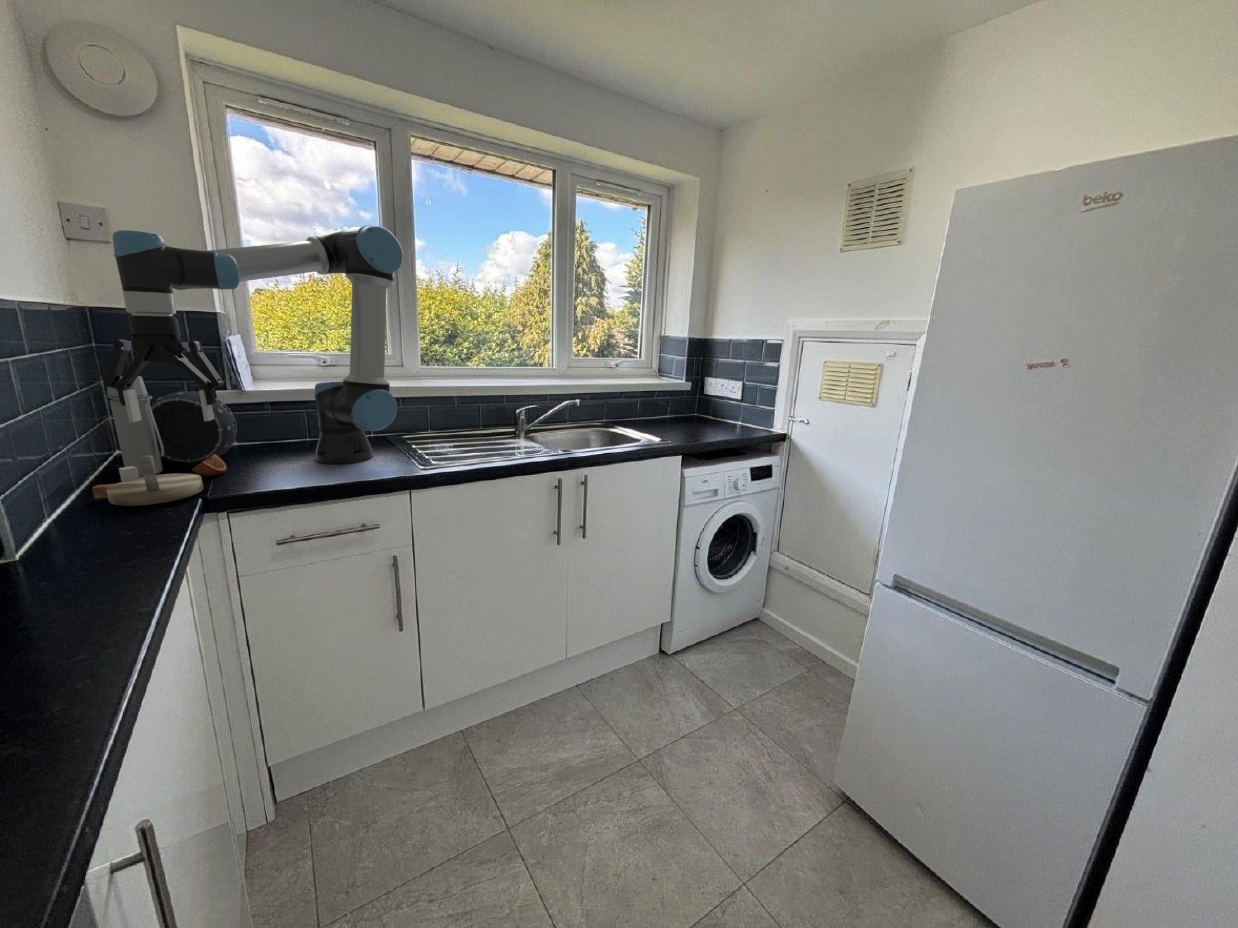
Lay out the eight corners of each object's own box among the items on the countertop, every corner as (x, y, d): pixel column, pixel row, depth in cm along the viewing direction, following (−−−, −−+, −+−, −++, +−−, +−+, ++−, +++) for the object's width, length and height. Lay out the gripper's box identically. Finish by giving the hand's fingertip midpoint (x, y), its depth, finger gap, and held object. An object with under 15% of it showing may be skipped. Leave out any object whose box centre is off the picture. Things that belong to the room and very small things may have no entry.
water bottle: (116, 478, 129) (93, 378, 122) (142, 470, 136) (121, 375, 130) (156, 478, 130) (135, 379, 123) (179, 470, 137) (160, 376, 131)
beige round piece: (99, 492, 116) (88, 449, 113) (204, 479, 127) (197, 440, 124) (84, 513, 103) (72, 465, 101) (202, 497, 114) (194, 454, 112)
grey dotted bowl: (231, 465, 144) (219, 393, 139) (144, 468, 138) (128, 394, 133) (246, 456, 154) (235, 389, 148) (165, 459, 148) (151, 389, 143)
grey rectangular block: (141, 487, 123) (137, 467, 121) (127, 490, 120) (123, 469, 119) (136, 485, 124) (132, 466, 122) (123, 488, 122) (118, 468, 120)
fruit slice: (219, 479, 131) (216, 460, 129) (187, 481, 129) (184, 462, 127) (231, 471, 138) (228, 453, 137) (202, 472, 136) (198, 454, 135)
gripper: (231, 317, 110) (247, 416, 115) (89, 313, 103) (113, 418, 109) (216, 317, 103) (233, 422, 108) (62, 312, 96) (89, 425, 102)
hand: (173, 420), depth 108 cm, fingers open, 12 cm apart
